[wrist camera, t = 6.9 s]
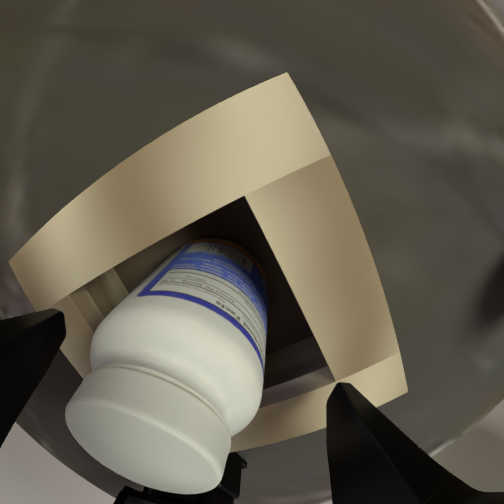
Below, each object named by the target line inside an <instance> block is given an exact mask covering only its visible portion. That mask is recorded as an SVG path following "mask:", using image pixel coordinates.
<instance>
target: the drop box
mask: <svg viewBox="0 0 504 504" xmlns="http://www.w3.org/2000/svg"><path fill="white" fill-rule="evenodd" d="M204 238H218V239H223V240H227V241H231V242H233V243H235V244H237V245H239V246H241V247H243V248H244V249H245V250H247V251H248V252H249V253H250V254H251V255H252V256H253V257H254V258H255V259H256V260H257V261H258V263H259V264H260V266H261V268H262V269H263V272H264V274H265V277H266V280H267V284H268V291H269V303H268V318H267V334H266V349H265V367H264V380H263V390H262V398H261V402H260V406H259V408H258V411H257V413H256V415H255V416H254V418H253V419H252V421H251V422H250V423H249V424H248V425H247V426H246V427H245V428H244V429H243V430H241V431H240V432H239V433H237V434H235V435H234V436H232V437H230V438H231V448H230V452H236V451H241V450H246V449H251V448H255V447H260V446H264V445H268V444H272V443H276V442H280V441H283V440H287V439H291V438H294V437H297V436H301V435H304V434H307V433H310V432H313V431H317V430H319V429H322V428H325V427H326V403H327V400H328V398H329V396H330V394H331V392H332V391H333V389H334V387H335V385H336V384H337V383H338V382H346V383H351V384H352V385H353V386H354V387H355V388H356V389H357V390H358V391H359V392H360V393H361V394H362V395H363V396H364V397H366V398H367V399H368V400H369V401H370V402H371V403H372V404H373V405H374V406H375V407H378V406H380V405H382V404H384V403H386V402H389V401H391V400H393V399H395V398H397V397H399V396H401V395H403V394H405V393H407V392H408V389H407V384H406V379H405V374H404V369H403V364H402V360H401V355H400V351H399V347H398V343H397V338H396V334H395V331H394V327H393V323H392V319H391V316H390V312H389V308H388V305H387V302H386V298H385V295H384V291H383V288H382V285H381V282H380V279H379V275H378V272H377V269H376V266H375V263H374V260H373V257H372V255H371V252H370V249H369V246H368V243H367V241H366V238H365V235H364V232H363V230H362V227H361V224H360V222H359V219H358V217H357V214H356V212H355V209H354V207H353V204H352V202H351V199H350V197H349V194H348V192H347V190H346V187H345V185H344V183H343V180H342V178H341V176H340V174H339V171H338V169H337V167H336V165H335V163H334V160H333V158H332V156H331V154H330V152H329V150H328V148H327V146H326V144H325V141H324V139H323V137H322V135H321V133H320V131H319V129H318V127H317V125H316V123H315V122H314V120H313V118H312V116H311V114H310V112H309V110H308V108H307V106H306V105H305V103H304V101H303V99H302V97H301V95H300V94H299V92H298V90H297V88H296V87H295V85H294V83H293V81H292V80H291V78H290V76H289V75H288V73H284V74H282V75H279V76H277V77H275V78H272V79H270V80H267V81H265V82H263V83H261V84H258V85H256V86H254V87H252V88H249V89H247V90H245V91H243V92H241V93H239V94H237V95H235V96H233V97H230V98H228V99H226V100H224V101H222V102H221V103H219V104H217V105H215V106H213V107H211V108H209V109H207V110H205V111H203V112H202V113H200V114H198V115H196V116H194V117H193V118H191V119H189V120H187V121H185V122H184V123H182V124H180V125H179V126H177V127H175V128H174V129H172V130H170V131H169V132H167V133H165V134H164V135H162V136H160V137H159V138H157V139H156V140H154V141H153V142H151V143H149V144H148V145H146V146H145V147H143V148H142V149H140V150H139V151H137V152H136V153H134V154H133V155H132V156H130V157H129V158H127V159H126V160H124V161H123V162H122V163H120V164H119V165H117V166H116V167H115V168H113V169H112V170H110V171H109V172H108V173H106V174H105V175H104V176H102V177H101V178H100V179H99V180H97V181H96V182H95V183H93V184H92V185H91V186H90V187H88V188H87V189H86V190H85V191H83V192H82V193H81V194H80V195H78V196H77V197H76V198H75V199H74V200H72V201H71V202H70V203H69V204H68V205H67V206H65V207H64V208H63V209H62V210H61V211H60V212H59V213H57V214H56V215H55V216H54V217H53V218H52V219H51V220H50V221H49V222H48V223H46V224H45V225H44V226H43V227H42V228H41V229H40V230H39V231H38V232H37V233H36V234H35V235H34V236H33V237H32V238H31V239H30V240H29V241H28V242H27V243H26V244H25V245H24V246H23V247H22V248H21V249H20V250H19V251H18V252H17V253H16V254H15V255H14V256H13V257H12V259H11V260H10V261H9V264H10V266H11V268H12V270H13V272H14V274H15V276H16V278H17V280H18V282H19V284H20V285H21V287H22V289H23V291H24V293H25V295H26V296H27V298H28V300H29V302H30V303H31V305H32V307H33V308H34V310H35V312H38V311H42V310H46V309H51V308H55V309H58V310H60V311H62V312H63V313H64V316H65V325H66V337H65V340H64V341H63V343H62V345H61V347H60V349H61V351H62V352H63V353H64V355H65V356H66V357H67V359H68V360H69V361H70V363H71V364H72V365H73V367H74V368H75V369H76V370H77V372H78V373H79V374H80V375H81V377H82V378H83V379H84V378H85V377H86V376H87V375H88V374H90V373H91V372H92V368H91V363H90V347H91V342H92V338H93V335H94V333H95V331H96V329H97V327H98V326H99V324H100V323H101V322H102V321H103V320H104V319H105V317H106V316H107V315H108V314H109V313H110V312H111V311H112V310H113V309H114V308H115V307H116V306H117V305H118V304H119V303H120V302H121V301H122V300H123V299H124V298H126V297H127V296H128V295H129V294H130V293H131V292H132V291H133V290H134V289H135V288H136V287H137V286H138V285H139V284H140V283H141V282H142V281H143V280H144V279H145V278H146V277H147V276H149V275H150V274H151V273H152V272H153V271H154V270H155V269H156V268H157V267H158V266H159V265H160V264H161V263H162V262H163V261H164V260H165V259H166V258H167V257H168V256H169V255H171V254H172V253H173V252H174V251H175V250H176V249H178V248H179V247H181V246H182V245H184V244H186V243H188V242H191V241H194V240H198V239H204ZM230 452H229V453H230Z"/></svg>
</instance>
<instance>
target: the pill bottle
mask: <svg viewBox="0 0 504 504" xmlns="http://www.w3.org/2000/svg"><path fill="white" fill-rule="evenodd" d="M268 303H269V291H268V284H267V280H266V277H265V274H264V272H263V269H262V268H261V266H260V264H259V263H258V261H257V260H256V259H255V258H254V257H253V256H252V255H251V254H250V253H249V252H248V251H247V250H245V249H244V248H243V247H241V246H239V245H237V244H235V243H233V242H231V241H227V240H223V239H218V238H204V239H198V240H194V241H191V242H188V243H186V244H184V245H182V246H181V247H179V248H178V249H176V250H175V251H174V252H173V253H172V254H171V255H169V256H168V257H167V258H166V259H165V260H164V261H163V262H162V263H161V264H160V265H159V266H158V267H157V268H156V269H155V270H154V271H153V272H152V273H151V274H150V275H149V276H147V277H146V278H145V279H144V280H143V281H142V282H141V283H140V284H139V285H138V286H137V287H136V288H135V289H134V290H133V291H132V292H131V293H130V294H129V295H128V296H127V297H126V298H124V299H123V300H122V301H121V302H120V303H119V304H118V305H117V306H116V307H115V308H114V309H113V310H112V311H111V312H110V313H109V314H108V315H107V316H106V317H105V319H104V320H103V321H102V322H101V323H100V324H99V326H98V327H97V329H96V331H95V333H94V335H93V338H92V342H91V347H90V363H91V368H92V372H91V373H90V374H88V375H87V376H86V377H85V378H84V379H83V381H82V383H81V385H80V386H79V388H78V389H77V391H76V392H75V394H74V395H73V397H72V398H71V400H70V401H69V403H68V404H67V406H66V409H65V420H66V424H67V426H68V428H69V430H70V432H71V434H72V435H73V437H74V438H75V439H76V441H77V442H78V443H79V444H80V445H81V446H82V447H83V448H84V449H85V450H86V451H87V452H88V453H89V454H90V455H91V456H92V457H94V458H95V459H96V460H97V461H99V462H100V463H101V464H102V465H104V466H106V467H107V468H109V469H110V470H112V471H114V472H115V473H117V474H119V475H121V476H123V477H125V478H127V479H129V480H131V481H133V482H136V483H138V484H141V485H143V486H146V487H149V488H152V489H156V490H160V491H165V492H171V493H177V494H198V493H204V492H207V491H210V490H212V489H214V488H215V487H216V486H217V485H218V484H219V483H220V481H221V480H222V477H223V473H224V469H225V464H226V460H227V457H228V454H229V452H230V448H231V438H230V437H232V436H234V435H235V434H237V433H239V432H240V431H241V430H243V429H244V428H245V427H246V426H247V425H248V424H249V423H250V422H251V421H252V419H253V418H254V416H255V415H256V413H257V411H258V408H259V406H260V402H261V398H262V390H263V380H264V367H265V349H266V334H267V318H268Z"/></svg>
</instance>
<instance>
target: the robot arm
mask: <svg viewBox="0 0 504 504" xmlns="http://www.w3.org/2000/svg"><path fill="white" fill-rule="evenodd" d="M65 337H66V325H65V316H64V313H63V312H62V311H60V310H58V309H55V308H51V309H46V310H42V311H38V312H34V313H30V314H26V315H22V316H17V317H13V318H9V319H5V320H1V321H0V448H1V446H2V444H3V442H4V440H5V438H6V437H7V435H8V433H9V431H10V429H11V428H12V426H13V424H14V423H15V421H16V419H17V417H18V416H19V414H20V412H21V411H22V409H23V408H24V406H25V404H26V403H27V401H28V400H29V398H30V396H31V395H32V393H33V392H34V390H35V389H36V387H37V386H38V384H39V383H40V381H41V380H42V378H43V377H44V375H45V373H46V372H47V370H48V368H49V367H50V365H51V363H52V361H53V359H54V357H55V356H56V354H57V352H58V350H59V348H60V347H61V345H62V343H63V341H64V340H65ZM326 444H327V454H328V463H329V472H330V481H331V491H332V502H333V504H504V492H481V491H478V490H476V489H473V488H472V487H470V486H469V485H467V484H466V483H464V482H463V481H462V480H460V479H458V478H457V477H456V476H454V475H453V474H452V473H450V472H449V471H447V470H446V469H445V468H443V467H442V466H441V465H439V464H438V463H437V462H436V461H434V460H433V459H432V458H431V457H430V456H429V455H427V454H426V453H425V452H424V451H423V450H422V449H421V448H418V446H417V445H416V444H415V443H414V442H413V441H412V440H411V439H410V438H409V437H407V436H406V435H405V434H404V433H403V432H402V431H401V430H400V429H399V428H398V427H397V426H395V425H394V424H393V423H392V422H391V421H390V420H389V419H388V418H387V417H386V416H385V415H384V414H383V413H381V412H380V411H379V410H378V409H377V408H376V407H375V406H374V405H373V404H372V403H371V402H370V401H369V400H368V399H367V398H366V397H364V396H363V395H362V394H361V393H360V392H359V391H358V390H357V389H356V388H355V387H354V386H353V385H352V384H351V383H346V382H338V383H337V384H336V385H335V387H334V389H333V391H332V392H331V394H330V396H329V398H328V400H327V403H326ZM245 468H247V462H246V461H245V460H244V459H243V458H241V457H240V456H239V455H238V454H237V453H236V452H230V453H229V454H228V457H227V460H226V464H225V469H224V473H223V477H222V480H221V481H220V483H219V484H218V485H217V486H216V487H215V488H214V489H212V490H210V491H207V492H204V493H198V494H177V493H171V492H165V491H160V490H156V489H152V488H149V487H146V486H145V487H144V490H143V492H140V491H137V490H134V489H133V488H131V487H129V486H126V485H125V486H124V488H123V490H122V491H120V493H119V494H118V496H117V498H116V500H115V502H114V503H113V504H233V503H234V499H238V497H239V494H240V481H241V469H245Z"/></svg>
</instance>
